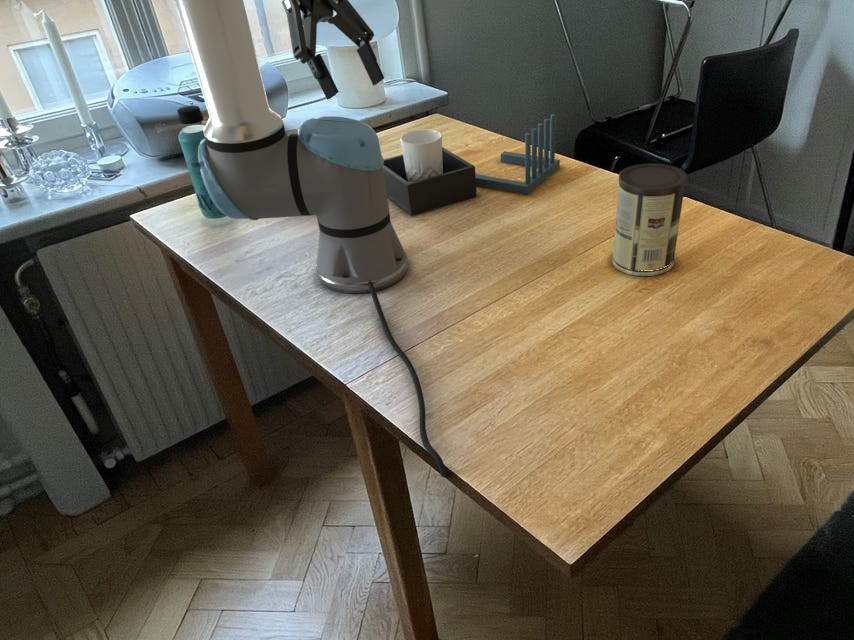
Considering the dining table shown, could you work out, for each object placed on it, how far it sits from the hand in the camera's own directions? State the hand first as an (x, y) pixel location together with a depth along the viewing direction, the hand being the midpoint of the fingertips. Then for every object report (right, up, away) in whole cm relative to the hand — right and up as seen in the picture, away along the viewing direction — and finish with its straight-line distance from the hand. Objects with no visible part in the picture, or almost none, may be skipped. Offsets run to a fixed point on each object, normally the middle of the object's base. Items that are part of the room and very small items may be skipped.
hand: (356, 88), depth 135 cm
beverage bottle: (-27, -22, +6) cm, 36 cm away
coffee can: (+50, -37, -14) cm, 64 cm away
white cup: (+12, -15, +10) cm, 21 cm away
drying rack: (+29, -9, +14) cm, 34 cm away
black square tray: (+12, -15, +10) cm, 22 cm away
